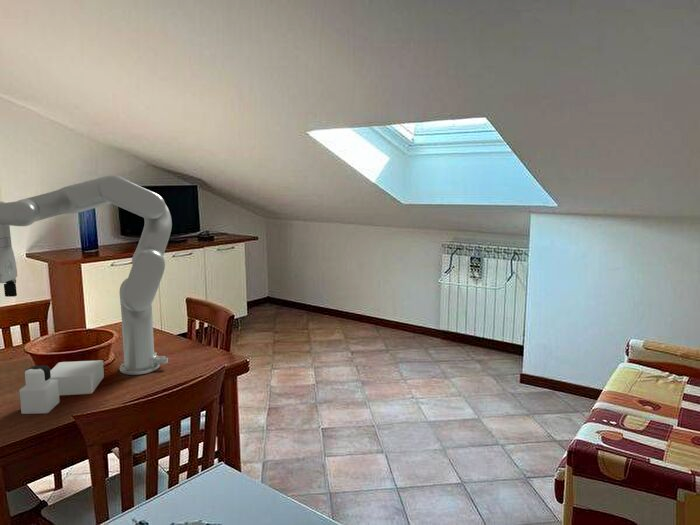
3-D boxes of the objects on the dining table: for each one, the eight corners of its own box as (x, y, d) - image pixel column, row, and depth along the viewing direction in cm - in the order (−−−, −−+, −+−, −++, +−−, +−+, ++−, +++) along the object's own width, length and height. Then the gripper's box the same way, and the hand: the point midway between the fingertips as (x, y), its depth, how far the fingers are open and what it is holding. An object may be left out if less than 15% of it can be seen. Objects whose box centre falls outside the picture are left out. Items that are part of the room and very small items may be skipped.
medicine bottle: (34, 403, 148) (30, 363, 146) (60, 402, 149) (56, 362, 147) (20, 414, 141) (16, 372, 139) (48, 413, 142) (44, 372, 140)
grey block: (103, 377, 168) (102, 360, 167) (91, 394, 155) (90, 375, 154) (60, 380, 166) (59, 362, 165) (44, 397, 153) (43, 378, 152)
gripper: (-7, 247, 144) (-1, 307, 147) (24, 239, 161) (29, 293, 164) (-36, 248, 143) (-29, 308, 146) (-2, 239, 160) (4, 293, 163)
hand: (2, 300), depth 155 cm, fingers open, 9 cm apart
